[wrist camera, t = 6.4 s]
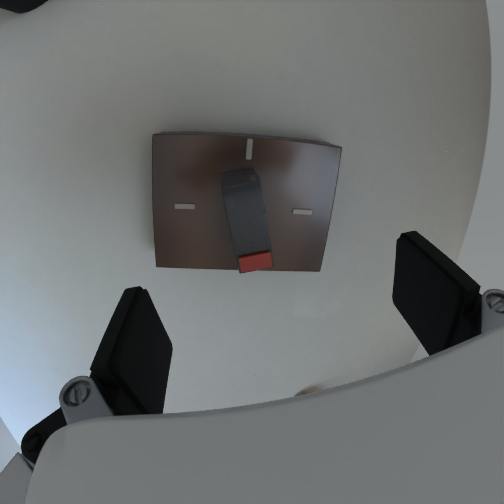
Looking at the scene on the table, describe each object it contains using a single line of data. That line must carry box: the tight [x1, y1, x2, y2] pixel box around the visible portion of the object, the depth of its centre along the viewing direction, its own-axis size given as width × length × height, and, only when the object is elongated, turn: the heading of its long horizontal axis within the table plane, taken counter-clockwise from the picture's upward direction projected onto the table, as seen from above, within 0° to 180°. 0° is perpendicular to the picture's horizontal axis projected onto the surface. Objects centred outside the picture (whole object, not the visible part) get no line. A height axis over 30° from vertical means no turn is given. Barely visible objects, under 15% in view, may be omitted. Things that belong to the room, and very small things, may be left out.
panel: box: [152, 132, 342, 272], centre depth 22 cm, size 13×10×3 cm
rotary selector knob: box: [221, 168, 274, 273], centre depth 19 cm, size 6×2×4 cm, turn 10°
